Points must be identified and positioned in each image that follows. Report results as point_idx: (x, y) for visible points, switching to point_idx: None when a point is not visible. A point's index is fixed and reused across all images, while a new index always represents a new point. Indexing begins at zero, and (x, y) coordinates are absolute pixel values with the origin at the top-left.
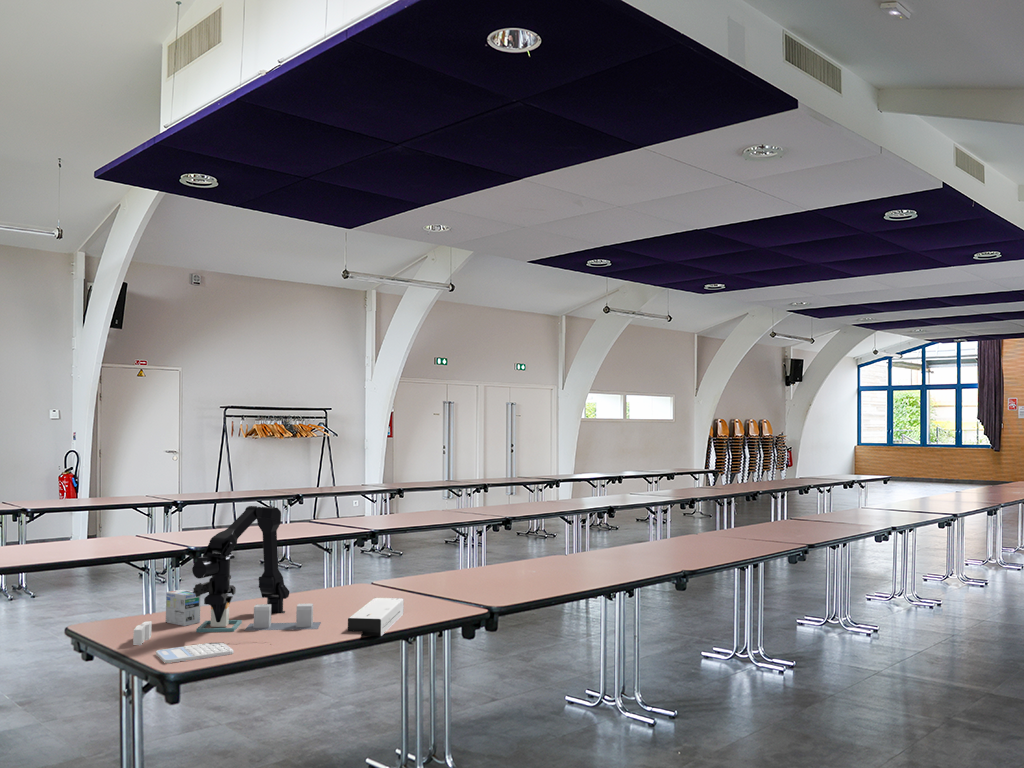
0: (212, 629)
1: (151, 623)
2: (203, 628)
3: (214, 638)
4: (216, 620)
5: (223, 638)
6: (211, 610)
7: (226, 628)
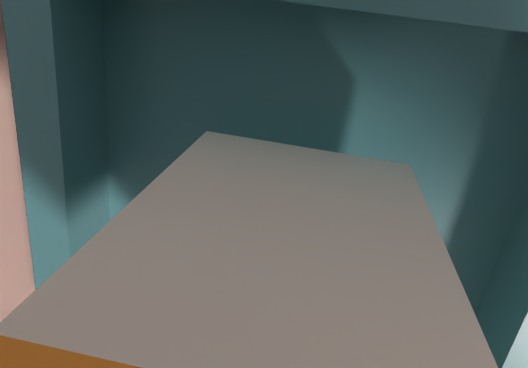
0: (29, 170)
1: None
2: (35, 32)
3: (6, 168)
4: None
5: (10, 251)
6: (30, 310)
7: None
